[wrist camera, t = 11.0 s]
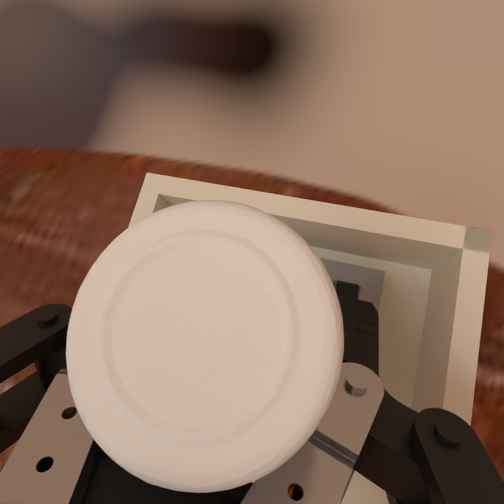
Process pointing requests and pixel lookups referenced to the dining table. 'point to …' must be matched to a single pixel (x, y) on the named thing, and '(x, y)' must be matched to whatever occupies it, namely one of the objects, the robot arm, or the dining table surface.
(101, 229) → the dining table surface
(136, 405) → the sprinkles bottle
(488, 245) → the caddy
